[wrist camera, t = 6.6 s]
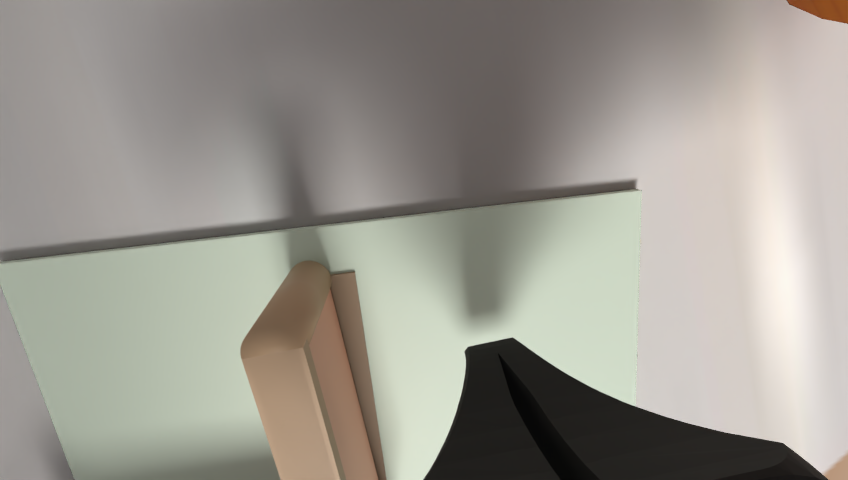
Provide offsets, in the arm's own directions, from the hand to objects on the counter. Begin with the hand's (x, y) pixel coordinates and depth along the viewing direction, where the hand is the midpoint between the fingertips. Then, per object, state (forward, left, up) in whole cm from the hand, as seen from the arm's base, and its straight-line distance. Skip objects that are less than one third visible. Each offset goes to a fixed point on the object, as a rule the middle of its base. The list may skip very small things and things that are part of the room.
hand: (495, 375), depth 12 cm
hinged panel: (-1, +4, -2) cm, 5 cm away
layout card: (-3, +4, -2) cm, 6 cm away
